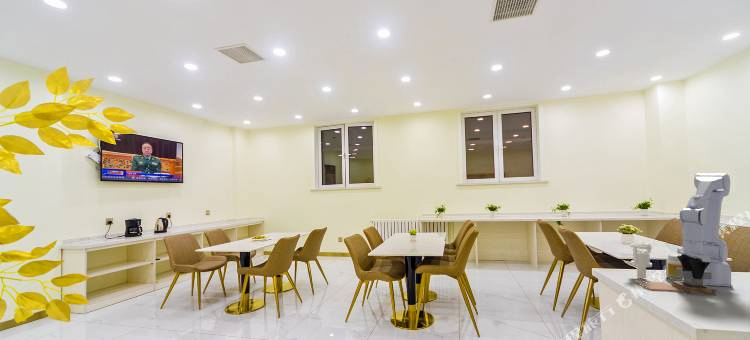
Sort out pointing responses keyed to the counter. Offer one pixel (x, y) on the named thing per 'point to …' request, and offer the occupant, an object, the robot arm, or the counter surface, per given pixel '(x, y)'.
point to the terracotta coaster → (658, 286)
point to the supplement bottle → (673, 267)
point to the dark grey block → (692, 277)
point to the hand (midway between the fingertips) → (693, 277)
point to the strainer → (641, 258)
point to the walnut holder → (694, 289)
